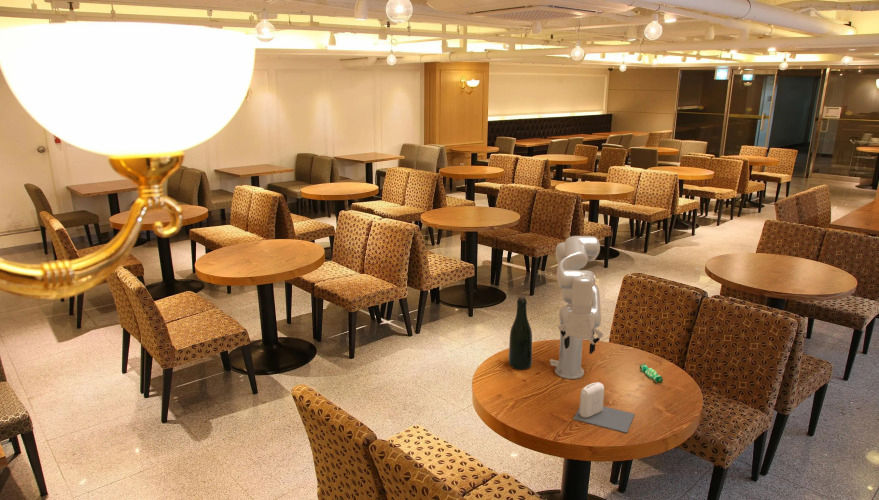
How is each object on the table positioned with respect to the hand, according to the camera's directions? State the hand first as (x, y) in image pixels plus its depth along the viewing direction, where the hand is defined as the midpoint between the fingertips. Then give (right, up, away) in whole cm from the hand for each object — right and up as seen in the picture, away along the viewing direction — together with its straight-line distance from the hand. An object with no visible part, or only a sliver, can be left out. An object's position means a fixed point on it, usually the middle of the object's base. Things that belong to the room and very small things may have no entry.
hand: (579, 350), depth 226 cm
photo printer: (+5, -25, +1) cm, 25 cm away
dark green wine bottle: (-17, -14, +41) cm, 47 cm away
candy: (+38, -17, +29) cm, 51 cm away
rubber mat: (+9, -26, -1) cm, 27 cm away
